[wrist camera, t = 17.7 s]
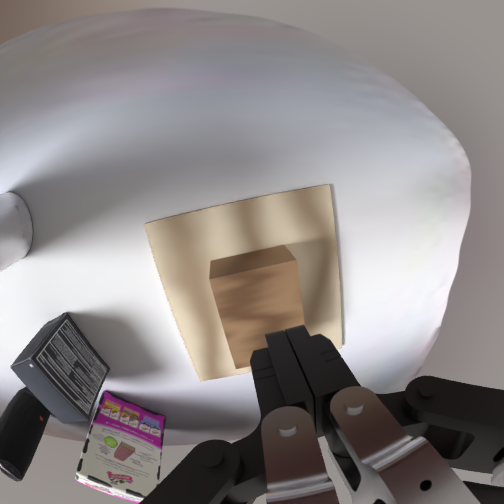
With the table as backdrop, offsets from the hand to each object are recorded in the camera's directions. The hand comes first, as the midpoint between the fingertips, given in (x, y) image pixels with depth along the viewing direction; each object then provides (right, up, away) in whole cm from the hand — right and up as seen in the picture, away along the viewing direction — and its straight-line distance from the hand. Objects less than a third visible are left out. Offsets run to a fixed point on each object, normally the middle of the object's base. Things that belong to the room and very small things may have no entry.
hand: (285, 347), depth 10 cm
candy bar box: (-21, -22, +26) cm, 40 cm away
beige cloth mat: (-1, -1, +22) cm, 22 cm away
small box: (-27, -10, +21) cm, 35 cm away
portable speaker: (-44, -25, +24) cm, 56 cm away
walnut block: (-1, +3, +17) cm, 17 cm away
